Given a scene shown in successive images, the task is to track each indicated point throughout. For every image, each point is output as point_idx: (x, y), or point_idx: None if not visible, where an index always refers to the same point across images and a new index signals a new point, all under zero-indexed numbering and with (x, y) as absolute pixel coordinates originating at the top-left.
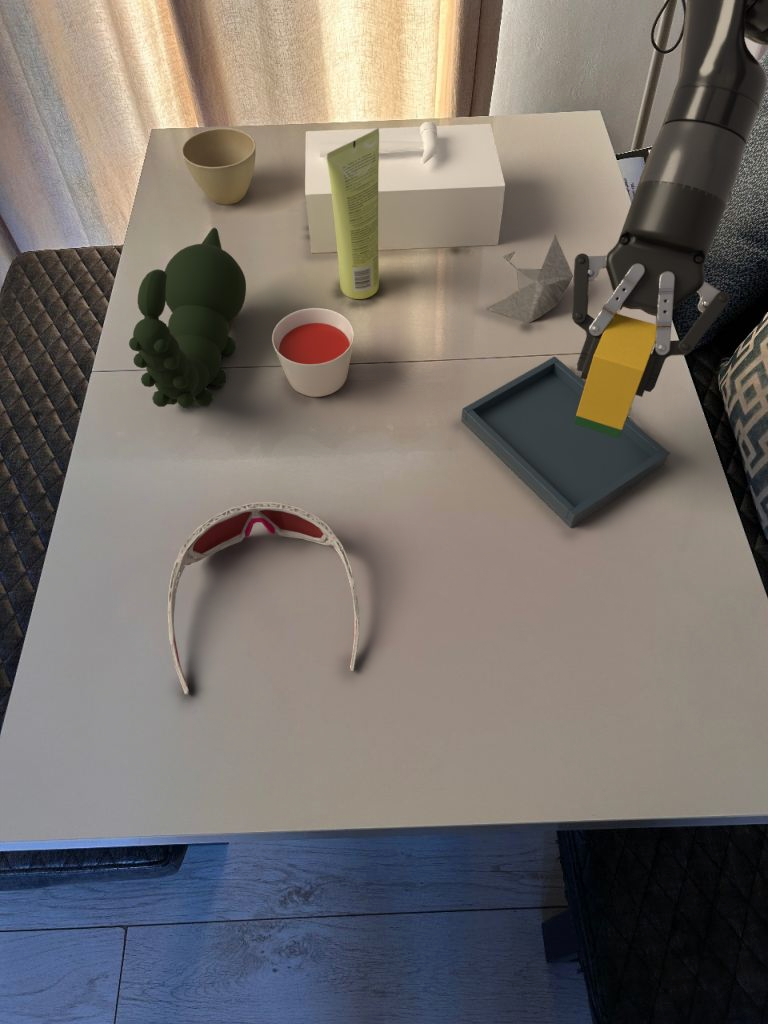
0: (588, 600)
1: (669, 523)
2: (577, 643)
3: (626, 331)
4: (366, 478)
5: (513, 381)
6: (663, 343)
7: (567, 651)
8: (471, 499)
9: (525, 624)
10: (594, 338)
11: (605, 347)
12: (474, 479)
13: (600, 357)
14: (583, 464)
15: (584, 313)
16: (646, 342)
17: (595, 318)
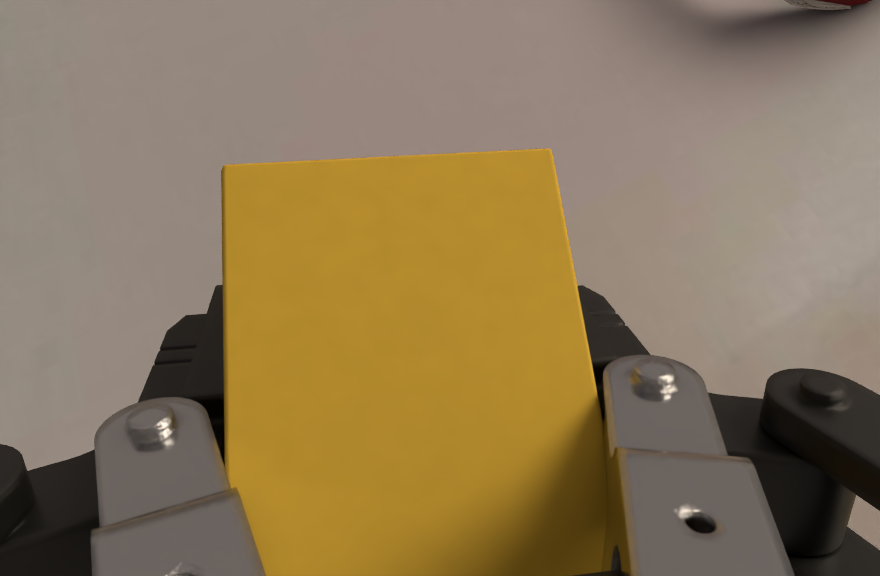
0: (235, 120)
1: (94, 417)
2: (225, 27)
3: (456, 461)
4: (835, 183)
5: None
6: (151, 449)
7: (239, 5)
8: (598, 241)
9: (340, 21)
10: (617, 353)
11: (520, 238)
12: (625, 298)
13: (510, 151)
14: None
15: (808, 416)
16: (282, 420)
17: (713, 419)
